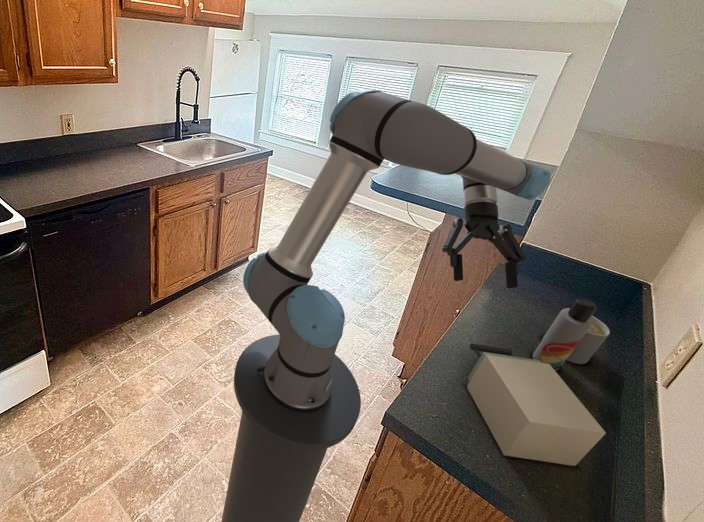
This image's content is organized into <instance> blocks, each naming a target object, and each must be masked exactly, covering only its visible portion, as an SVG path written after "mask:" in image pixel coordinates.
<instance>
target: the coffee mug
mask: <svg viewBox="0 0 704 522" xmlns="http://www.w3.org/2000/svg"><path fill="white" fill-rule="evenodd" d="M570 308H571V307H566V308H562V309H561V310H560V311H559V313H558V314H557V316H556V318H555V319H554V320H553V322H552V323H551V324H550V326H549V328H548V329H547V331H546V332H545V334H544V335H543V337H542V339H543V338H544V337H545V335H546V334H547V332H548V331H549V330H550V328H551V327H552V325H553V324H554V322H555V321H556V319H557V318H558V316H559V315H560V314H561V312H562V311H564V310H570ZM589 321H590V323H591V327H590V328H589V330H588V331H587V332H586V334H585V335H584V336H583V338H582V339H581V340H580V342H579V343H578V344H577V346H576V347H575V348H574V350H573V351H572V352H571V354H570V355H569V356H568V358H567V359H566V360H565V361H567V362H570V363H574V364H578V365H584V364H587V363H588V362H589V361H590V360H591V358H592V357H593V356H594V355H595V353H596V352H597V351H598V350H599V348H600V347H601V346H602V344H603V343H604V342H605V341H606V339H607V338H608V337H609V335H610V334H611V330H610V328H609V327H608V326H607V324H605V323H604V322H603V321H601V320H600V319H598V318H597V317H595V316H594V315H592V316H591V317H590V319H589Z"/></svg>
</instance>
